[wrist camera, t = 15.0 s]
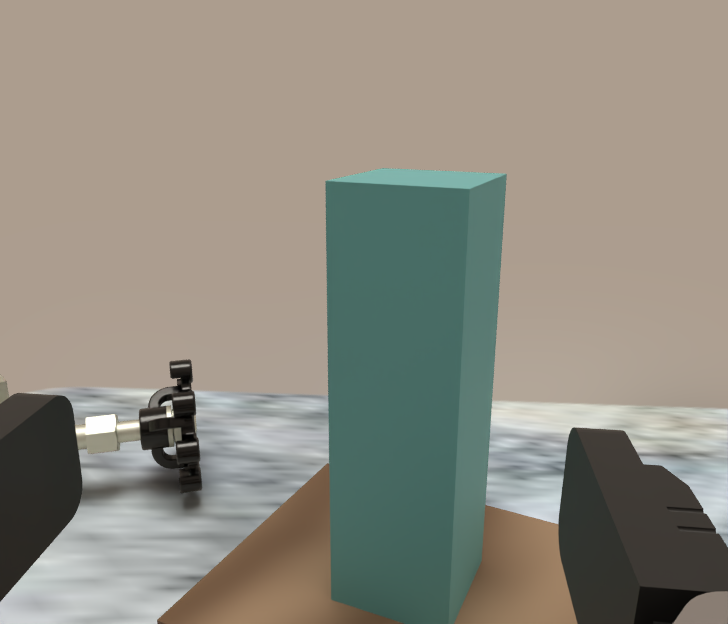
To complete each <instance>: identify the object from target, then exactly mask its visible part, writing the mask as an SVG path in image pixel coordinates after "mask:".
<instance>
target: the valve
mask: <svg viewBox="0 0 728 624" xmlns="http://www.w3.org/2000/svg"><path fill="white" fill-rule="evenodd" d="M170 375H171V378H172V379H174V378H181V379H177V386H173V387H166V388H163V389H161V390H159V391H157V392H156V393H154V395H153V396H152V397H151V398H150V401H149V405H148V408H144V409H140V410H139V420H131V421H122V422H119V421H118V416H117V415H106V416H97V417H88V418H86V424H82V425H75V429H76V436H77V444H78V450H81V449H87V450H88V454H96V453H104V452H112V451H119V450H120V443H123V442H131V441H139V440H141V446H142V449H143V450H152V456H153V458H154V460H155V461H156V462H157V463H158V464H159V465H161V466H163V467H165V468H170V469H176V468H184V469H180V470H179V473H180V478H179V483H180V492H181V493H187V492H193V491H200V490H202V480H201V470H200V466H199V461H200V451H199V440H198V438H197V436H196V432H197V427H196V416H195V415H196V404H195V394H194V391H192V390H191V383H192V382H193V378H192V377H193V376H192V365H191V360H179V361H171V362H170ZM8 398H9V394H8V388H7V382H6V380H5V379H4V378H3V377H2V376H1V375H0V403H2V402H3V401H5V400H6V399H8ZM170 400H172V405H173V409H172V411H171V405H170V406H162V407H160V406H161V404H162V403H164V402H165V401H170ZM174 441H175V442H176V453H177V455H168V454H166V453H165V452H164V450H163V448H166V447H169V446H170V447H174Z"/></svg>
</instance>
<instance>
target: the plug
mask: <svg viewBox="0 0 728 624" xmlns="http://www.w3.org/2000/svg"><path fill="white" fill-rule="evenodd" d="M505 191H506V174H497V173H496V174H495V173H476V172H454V171H453V172H452V171H432V170H409V169H387V168H382V169H377V170H373V171H369V172H364V173H360V174H355V175H350V176H346V177H341V178H337V179H333V180H328V181H326V248H327V249H326V251H327V316H328V317H327V321H328V322H327V325H328V400H329V474H330V549H331V600H334V601H337V602H340V603H343V604H346V605H349V606H352V607H355V608H358V609H361V610H364V611H367V612H370V613H373V614H377V615H380V616H383V617H386V618H389V619H392V620H395V621H398V622H401V623H404V624H454V622H455V620H456V618H457V615H458V613H459V611H460V609H461V606H462V604H463V602H464V600H465V597H466V595H467V593H468V590H469V588H470V586H471V584H472V581H473V579H474V577H475V575H476V572H477V570H478V568H479V566H480V563H481V561H482V547H483V531H484V516H485V500H486V485H487V469H488V454H489V438H490V423H491V408H492V391H493V390H492V389H493V377H494V361H495V345H496V330H497V314H498V299H499V284H500V283H499V282H500V268H501V253H502V236H503V222H504V206H505Z"/></svg>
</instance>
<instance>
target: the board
mask: <svg viewBox="0 0 728 624" xmlns="http://www.w3.org/2000/svg"><path fill="white" fill-rule="evenodd" d="M558 527H559V525H558V524H555V523H551V522H547V521H543V520H540V519H536V518H532V517H528V516H524V515H521V514H517V513H513V512H509V511H506V510H502V509H498V508H494V507H491V506H487V505H485V516H484V531H483V547H482V561H481V563H480V566H479V568H478V570H477V572H476V575H475V577H474V579H473V581H472V584H471V586H470V588H469V590H468V593H467V595H466V597H465V600H464V602H463V604H462V606H461V609H460V611H459V613H458V615H457V618H456V620H455V622H454V624H577V620H576V616H575V612H574V608H573V605H572V601H571V597H570V593H569V589H568V585H567V581H566V577H565V574H564V570H563V566H562V562H561V557H560V550H559V536H558ZM157 623H158V624H404V623H401V622H398V621H395V620H392V619H389V618H386V617H383V616H380V615H377V614H373V613H370V612H367V611H364V610H361V609H358V608H355V607H352V606H349V605H346V604H343V603H340V602H337V601H334V600H331V549H330V474H329V464H328V463H327V464H326V465H325V466H324V467H323V468H322V469H321V470H320V471H319V472H318V473H316V474H315V475H314V476H313V477H312V478H311V479H310V480H309V481H308V482H307V483H306V484H304V485H303V486H302V487H301V488H300V489H299V490H298V491H297V492H296V493H295V494H294V495H293V496H291V497H290V498H289V499H288V500H287V501H286V502H285V503H284V504H283V505H282V506H281V507H280V508H278V509H277V510H276V511H275V512H274V513H273V514H272V515H271V516H270V517H269V518H268V519H266V520H265V521H264V522H263V523H262V524H261V525H260V526H259V527H258V528H257V529H256V530H255V531H253V532H252V533H251V534H250V535H249V536H248V537H247V538H246V539H245V540H244V541H243V542H242V543H240V544H239V545H238V546H237V547H236V548H235V549H234V550H233V551H232V552H231V553H230V554H228V555H227V556H226V557H225V558H224V559H223V560H222V561H221V562H220V563H219V564H218V565H217V566H215V567H214V568H213V569H212V570H211V571H210V572H209V573H208V574H207V575H206V576H205V577H204V578H202V579H201V580H200V581H199V582H198V583H197V584H196V585H195V586H194V587H193V588H192V589H190V590H189V591H188V592H187V593H186V594H185V595H184V596H183V597H182V598H181V599H180V600H179V601H177V602H176V603H175V604H174V605H173V606H172V607H171V608H170V609H169V610H168V611H167V612H166V613H164V614H163V615H162V616H161V617H160V618H159V619H158V620H157Z"/></svg>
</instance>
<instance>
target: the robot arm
mask: <svg viewBox="0 0 728 624" xmlns="http://www.w3.org/2000/svg"><path fill="white" fill-rule="evenodd" d="M81 494H82V475H81V467H80V459H79V452H78V444H77V436H76V429H75V421H74V413H73V408H72V405H71V403H70V401H69V400H68V399H67V398H66V397H65V396H60V395H43V394H27V393H17V394H14V395H12V396H10V397H9V398H8V399H6V400H5V401H3V402H2V403H0V601H1V600H2V599H3V598H4V597H5V596H6V595H7V593H8V592H9V591H10V590H11V589H12V588H13V586H14V585H15V584H16V583H17V582H18V581H19V580H20V578H21V577H22V576H23V575H24V574H25V573H26V572H27V570H28V569H29V568H30V567H31V566H32V565H33V563H34V562H35V561H36V560H37V559H38V558H39V557H40V555H41V554H42V553H43V552H44V551H45V550H46V549H47V547H48V546H49V545H50V544H51V543H52V542H53V540H54V539H55V538H56V537H57V536H58V535H59V534H60V532H61V531H62V530H63V529H64V528H65V527H66V525H67V524H68V523H69V522H70V521H71V520H72V518H73V517H74V515H75V513H76V511H77V509H78V506H79V503H80V499H81ZM558 536H559V550H560V557H561V562H562V566H563V570H564V574H565V577H566V581H567V585H568V589H569V593H570V597H571V601H572V605H573V608H574V612H575V616H576V620H577V624H728V547H727V546H726V544H725V543H724V541H723V539H722V538H721V536H720V535H719V534H716V528H715V527H714V525H713V524H712V522H711V520H710V519H709V517H708V516H707V514H704V513H703V508H702V506H701V505H700V503H699V501H698V500H697V498H696V497H695V495H694V494H693V492H692V490H691V489H690V487H689V486H688V485H687V484H685V483H684V482H683V481H681V480H680V479H679V478H677V477H676V476H675V475H673V474H672V473H671V472H669V471H668V470H667V469H665V468H664V467H663V466H659V465H644V464H643V463H642V461H641V460H640V458H639V456H638V454H637V452H636V450H635V449H634V447H633V445H632V443H631V441H630V439H629V438H628V436H627V434H626V433H625V432H624V431H622V430H606V429H589V428H572V430H571V432H570V434H569V439H568V445H567V453H566V462H565V470H564V479H563V487H562V496H561V504H560V513H559V527H558Z"/></svg>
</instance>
